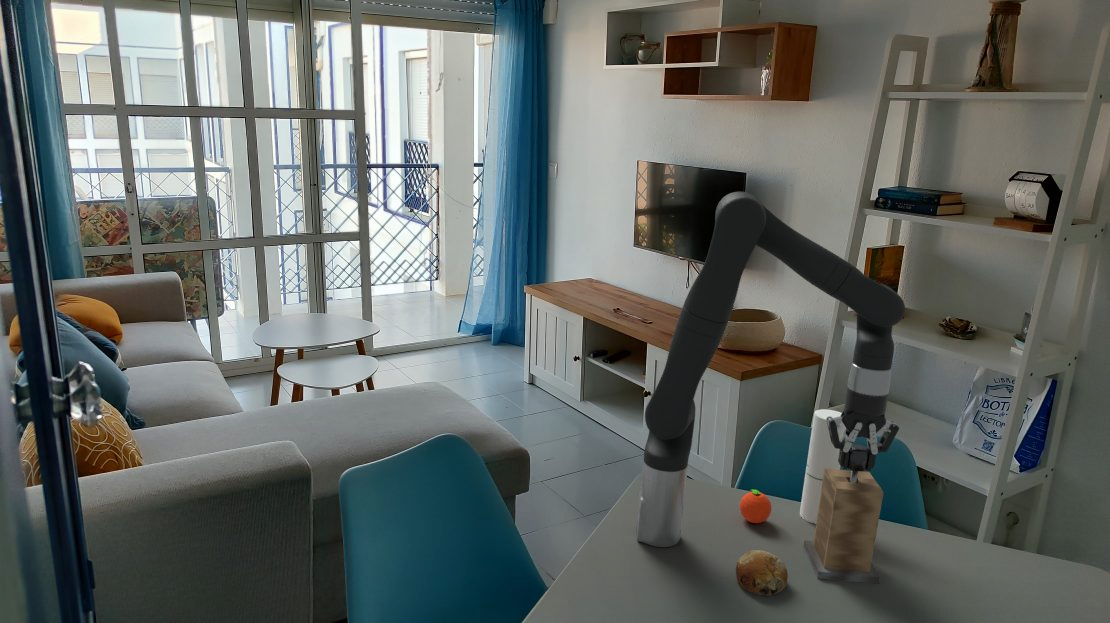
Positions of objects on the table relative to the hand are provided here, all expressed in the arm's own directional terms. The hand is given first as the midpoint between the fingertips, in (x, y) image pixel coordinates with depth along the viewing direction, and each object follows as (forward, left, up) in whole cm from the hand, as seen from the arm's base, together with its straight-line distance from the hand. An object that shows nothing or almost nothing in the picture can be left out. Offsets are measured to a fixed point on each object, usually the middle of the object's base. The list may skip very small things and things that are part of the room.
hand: (855, 468), depth 159 cm
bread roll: (-18, -9, -22) cm, 30 cm away
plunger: (0, 0, -20) cm, 20 cm away
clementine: (-15, +16, -22) cm, 31 cm away
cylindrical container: (0, +20, -22) cm, 30 cm away
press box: (0, 0, -22) cm, 22 cm away
